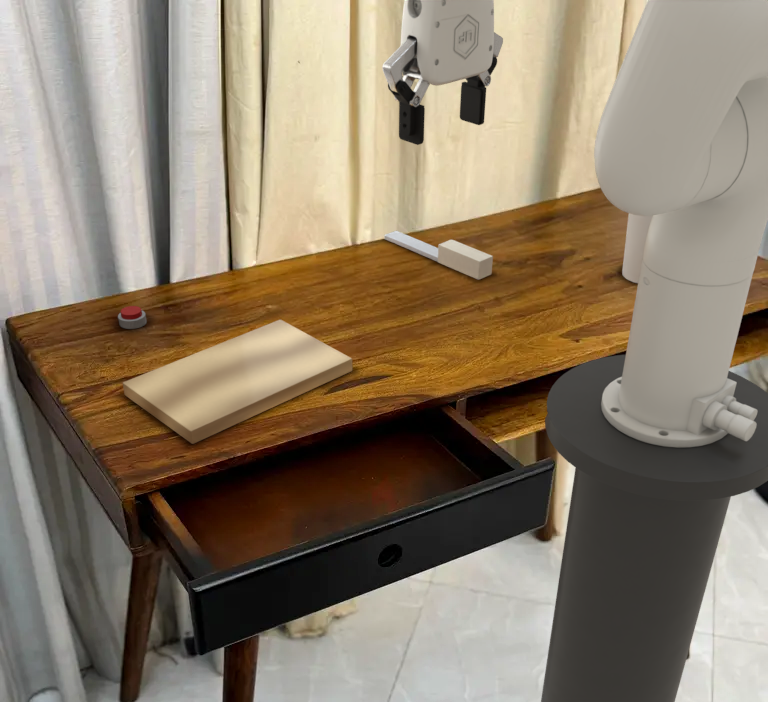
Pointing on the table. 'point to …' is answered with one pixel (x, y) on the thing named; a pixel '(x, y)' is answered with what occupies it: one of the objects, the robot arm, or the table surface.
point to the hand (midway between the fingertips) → (442, 131)
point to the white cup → (635, 245)
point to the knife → (448, 254)
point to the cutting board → (236, 379)
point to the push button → (132, 317)
